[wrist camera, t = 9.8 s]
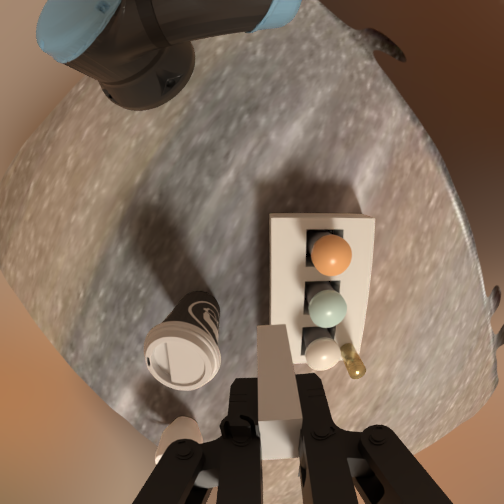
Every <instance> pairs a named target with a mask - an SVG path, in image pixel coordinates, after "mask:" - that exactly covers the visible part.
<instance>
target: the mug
mask: <svg viewBox="0 0 504 504" xmlns="http://www.w3.org/2000/svg"><path fill="white" fill-rule="evenodd" d="M179 439H192V440H194V441H196V442H198V443H199V444H201V443H203V439H202V436H201V433H200V430H199V427H198V424H197V422H196V421H195V420H193V419H192V418H189V417H184V416H182V417H178V418H176V419H175V420H174V421H173V422H172V423H171V424H170V425H169V426H168V427H167V428H166V429H165V430H164V431H163V433H162V436H161V439H160V442H159V446H158V448H157V451H156V454H155V463H156V464H157V463H158V462H159V460H160V459H161V457H162V455H163V454H164V452H165V450H166V449H167V447H168V446H169V445H170V444H171V443H172V442H174V441H176V440H179Z"/></svg>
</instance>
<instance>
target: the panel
mask: <svg viewBox="0 0 504 504" xmlns="http://www.w3.org/2000/svg"><path fill="white" fill-rule="evenodd" d="M306 229H334V235H337V236H340V237H341V238H343V239H344V240H345V241H346V242H347V243H348V244H349V245H350V247H351V251H352V259H351V263H350V265H349V266H348V268H347V269H346V270H345V271H344V272H343V273H341V274H339V275H336V276H326V275H323V274H322V273H320V272H319V271H318V270H317V269H316V267H315V266H314V264H313V262H312V259H311V257H306ZM374 232H375V218H373V217H370V216H367V215H364V214H347V213H269V235H270V313H269V325H279V324H286V329H287V334H288V339H289V345H290V350H291V355H292V361H293V364H299V363H307V361H306V357H305V351H306V346H305V343H304V339H302V327H318V326H317V325H316V324H315V323H314V322H313V321H312V319H311V317H310V314H309V303H308V301H307V300H304V291H305V281H331V286H332V288H333V289H334V291H337V292H338V293H340V294H341V296H342V297H343V298H344V300H345V301H346V304H347V312H346V315H345V317H344V319H343V320H342V321H341V322H340V323H339V324H337V325H335V326H333V327H329V328H327V329H328V331H329V333H330V335H331V338H332V339H333V340H334V341H336V343H337V344H338V346H339V348H341V346H342V345H344V344H346V343H351V344H352V345H353V346H354V348H355V349H356V351H357V353H358V355H359V352H360V346H361V341H362V335H363V329H364V323H365V317H366V310H367V303H368V295H369V287H370V278H371V269H372V258H373V246H374ZM340 360H343V359H342V357H341V356H340V359H339V361H340Z"/></svg>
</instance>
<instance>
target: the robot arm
mask: <svg viewBox="0 0 504 504" xmlns="http://www.w3.org/2000/svg"><path fill="white" fill-rule="evenodd" d="M301 1H302V0H48V1H47V2H46V4H45V6H44V8H43V10H42V12H41V14H40V17H39V20H38V23H37V29H36V39H37V43H38V45H39V47H40V48H41V49H42V50H43V51H44V52H45V53H47V54H48V55H50V56H52V57H53V58H54V59H55V60H56V61H57V62H59V63H63V64H65V65H67V66H69V67H71V68H73V69H75V70H77V71H79V72H81V73H84V74H85V75H87V76H90V77H92V78H94V79H95V80H98V82H99V84H100V86H101V88H102V90H103V92H104V93H105V95H106V96H107V97H108V98H109V99H110V100H111V101H112V102H113V103H115V104H117V105H119V106H121V107H123V108H125V109H128V110H134V111H142V110H149V109H153V108H156V107H158V106H160V105H162V104H164V103H166V102H168V101H169V100H171V99H172V98H173V97H175V96H176V95H177V94H178V93H179V92H180V91H181V90H182V89H183V88H184V86H185V85H186V84H187V82H188V81H189V79H190V77H191V75H192V72H193V69H194V65H195V52H194V48H193V46H192V44H191V42H190V41H194V40H198V39H203V38H208V37H214V36H219V35H225V34H231V33H238V32H245V33H253V32H255V31H257V30H263V29H272V28H279V27H282V26H284V25H286V24H287V23H289V22H290V21H291V20H292V19H293V18H294V17H295V15H296V14H297V12H298V10H299V7H300V4H301ZM257 359H258V378H236V379H235V381H234V382H233V383H232V385H231V388H230V398H229V408H228V416H226V417H225V418H224V419H223V420H222V421H221V424H220V429H221V434H222V436H221V437H220V438H218V439H216V440H214V441H210V442H206V443H201V444H199V443H198V442H196V441H194V440H192V439H179V440H176V441H174V442H172V443H171V444H170V445H169V446H168V447H167V449H166V450H165V452H164V454H163V455H162V457H161V459H160V460H159V462H158V463H157V465H156V467H155V468H154V470H153V472H152V473H151V475H150V476H149V478H148V480H147V481H146V483H145V484H144V486H143V488H142V489H141V491H140V492H139V494H138V495H137V497H136V498H135V500H134V502H133V503H132V504H206V502H207V500H208V498H209V495H210V493H211V490H212V488H213V487H216V486H218V492H217V502H216V504H263V477H262V460H271V459H286V458H298V457H299V458H300V467H299V474H298V477H299V476H300V479H301V488H302V496H303V504H358V500H357V496H356V492H355V488H354V486H355V487H356V489H357V491H358V492H359V494H360V496H361V497H362V499H363V500H364V502H365V504H453V503H452V502H451V500H450V499H449V498H448V497H447V496H446V494H445V493H444V492H443V491H442V490H441V488H440V487H439V486H438V485H437V484H436V482H435V481H434V480H433V479H432V478H431V476H430V475H429V474H428V473H427V472H426V470H425V469H424V468H423V467H422V465H421V464H420V463H419V462H418V461H417V459H416V458H415V457H414V456H413V455H412V453H411V452H410V451H409V450H408V449H407V447H406V446H405V445H404V444H403V443H402V441H401V440H400V439H399V438H398V436H397V435H396V434H395V433H394V432H393V430H391V429H390V428H389V427H387V426H384V425H372V426H369V427H368V428H366V429H364V431H363V432H352V431H346V430H343V429H340V428H339V427H338V426H336V425H335V423H334V422H333V420H332V417H331V413H330V410H329V406H328V402H327V399H326V396H325V392H324V389H323V385H322V381H321V379H320V378H319V377H318V376H317V375H316V374H315V373H308V374H297V375H295V372H294V366H293V361H292V355H291V350H290V345H289V339H288V334H287V329H286V324H279V325H261V326H257Z"/></svg>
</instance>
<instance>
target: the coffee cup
mask: <svg viewBox="0 0 504 504" xmlns="http://www.w3.org/2000/svg"><path fill="white" fill-rule="evenodd" d="M219 319H220V308H219V305H218V303H217V301H216V300H215V299H214V298H213V297H212V296H211V295H209V294H207V293H205V292H200V291H196V292H191V293H189V294H187V295H186V296H185V297H184V298H183V299H182V300H181V301H180V302H179V304H178V305H177V306H176V307H175V308H174V309H173V311H172V312H171V313H170V314H169V315H168V316H167V318H166V319H165V320H164V321H163V322H162V323H161V324H158V325H156V326H155V327H153V328H152V329H151V330H150V331H149V333H148V334H147V336H146V339H145V343H144V356H145V360H146V365H147V367H148V369H149V371H150V372H151V374H152V375H153V376H154V377H155V378H156V379H157V380H158V381H159V382H161V383H162V384H164V385H166V386H168V387H170V388H173V389H177V390H194V389H197V388H200V387H201V386H203V385H204V384H206V383H207V382H209V381H210V380H211V379H212V378H213V377H214V376H215V375H216V373H217V372H218V370H219V367H220V364H221V355H220V351H219V348H218V334H219Z"/></svg>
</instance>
